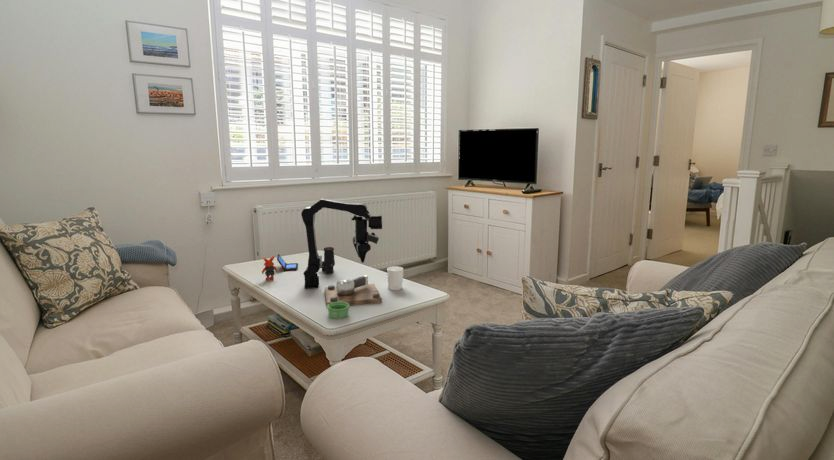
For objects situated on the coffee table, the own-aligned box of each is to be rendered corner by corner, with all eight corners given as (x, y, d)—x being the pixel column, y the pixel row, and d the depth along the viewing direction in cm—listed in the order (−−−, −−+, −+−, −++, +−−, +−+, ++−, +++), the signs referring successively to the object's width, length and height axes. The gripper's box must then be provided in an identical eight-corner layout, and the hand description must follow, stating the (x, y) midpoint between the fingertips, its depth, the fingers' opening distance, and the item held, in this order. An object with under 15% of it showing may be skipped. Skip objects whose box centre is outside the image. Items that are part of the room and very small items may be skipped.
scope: (331, 245, 251) (338, 248, 242) (332, 268, 253) (339, 273, 245) (317, 246, 246) (324, 250, 238) (318, 271, 249) (325, 275, 241)
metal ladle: (344, 296, 202) (344, 284, 201) (333, 292, 208) (332, 281, 206) (372, 287, 215) (372, 276, 214) (361, 283, 220) (360, 272, 219)
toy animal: (274, 276, 239) (273, 254, 237) (278, 279, 235) (277, 256, 233) (259, 279, 235) (258, 256, 232) (263, 281, 230) (261, 259, 228)
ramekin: (333, 321, 182) (333, 311, 181) (324, 314, 189) (323, 304, 188) (353, 316, 187) (353, 306, 187) (343, 309, 195) (343, 300, 194)
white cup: (397, 291, 217) (397, 271, 215) (384, 288, 221) (383, 269, 219) (406, 287, 223) (406, 267, 221) (393, 284, 228) (393, 265, 226)
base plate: (327, 307, 197) (327, 300, 196) (324, 291, 217) (324, 285, 216) (381, 302, 203) (381, 295, 202) (374, 287, 223) (374, 281, 222)
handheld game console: (297, 270, 250) (296, 258, 249) (277, 272, 248) (276, 259, 246) (298, 264, 262) (297, 252, 261) (278, 265, 260) (278, 253, 258)
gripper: (381, 232, 213) (381, 264, 216) (374, 224, 231) (373, 254, 234) (357, 233, 210) (357, 265, 213) (352, 225, 228) (352, 255, 231)
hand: (361, 259), depth 223 cm, fingers open, 9 cm apart
